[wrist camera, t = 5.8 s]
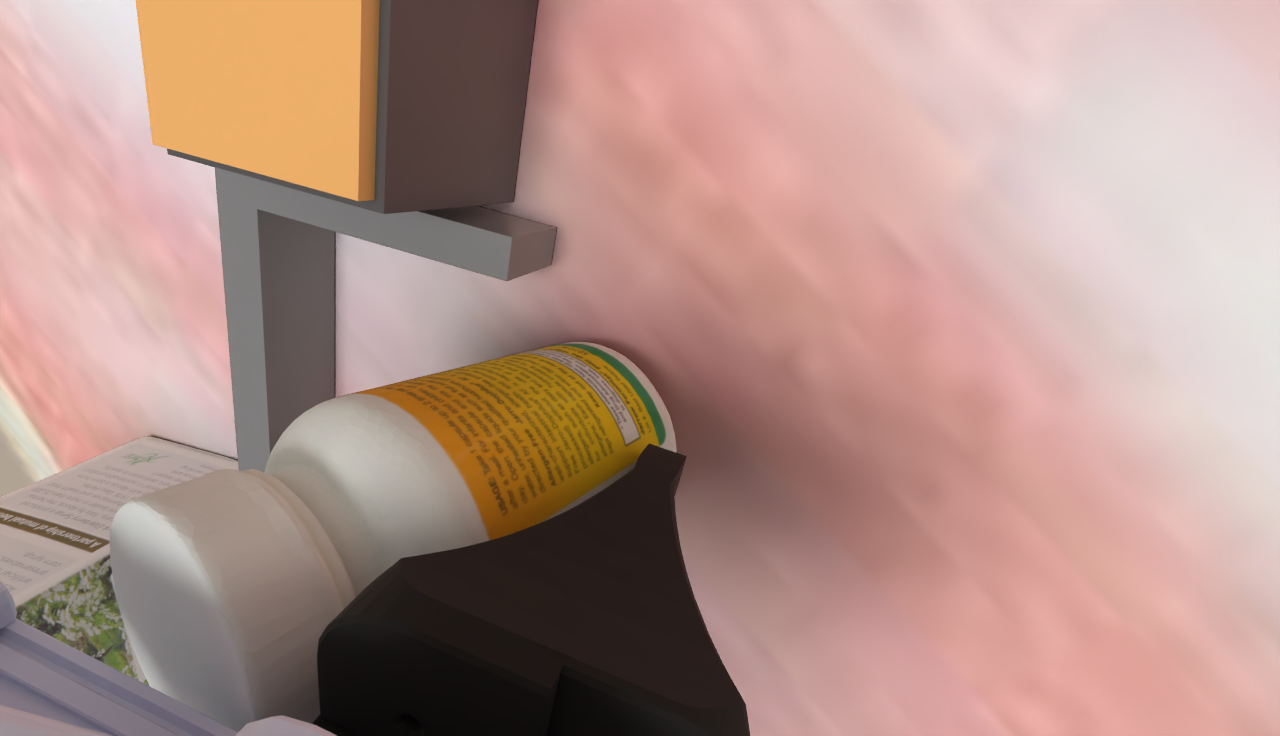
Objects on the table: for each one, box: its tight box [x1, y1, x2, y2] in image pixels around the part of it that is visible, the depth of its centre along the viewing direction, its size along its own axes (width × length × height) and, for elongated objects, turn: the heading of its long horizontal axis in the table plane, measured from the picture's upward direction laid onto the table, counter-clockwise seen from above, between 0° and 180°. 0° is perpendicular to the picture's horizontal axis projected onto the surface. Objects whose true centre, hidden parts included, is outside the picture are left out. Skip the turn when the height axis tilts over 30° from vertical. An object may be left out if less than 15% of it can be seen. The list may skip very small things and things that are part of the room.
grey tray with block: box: [136, 0, 557, 472], centre depth 14 cm, size 20×8×5 cm, turn 168°
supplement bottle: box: [109, 342, 677, 732], centre depth 11 cm, size 5×5×10 cm
